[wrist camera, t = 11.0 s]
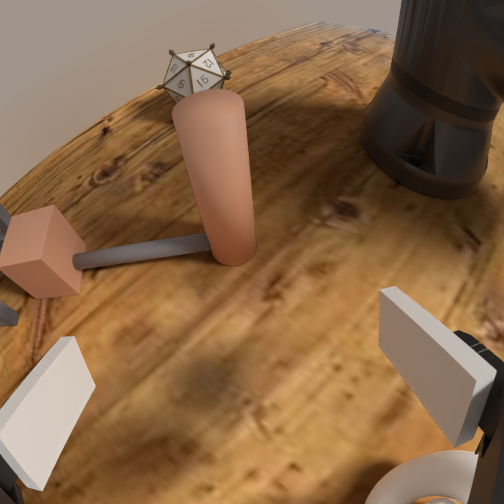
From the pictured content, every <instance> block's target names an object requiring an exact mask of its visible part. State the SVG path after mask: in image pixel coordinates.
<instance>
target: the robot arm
mask: <svg viewBox="0 0 504 504" xmlns="http://www.w3.org/2000/svg"><path fill="white" fill-rule="evenodd" d="M502 103H504V0H402V3H401V10H400V16H399V23H398V29H397V35H396V41H395V46H394V52H393V57H392V62H391V68H390V72H389V74H388V75H387V77H386V79H385V80H384V82H383V83H382V85H381V86H380V88H379V90H378V91H377V93H376V94H375V96H374V98H373V100H372V101H371V102H370V103H369V105H368V106H367V107H366V110H365V112H364V115H363V120H362V125H361V132H360V134H361V140H362V143H363V145H364V147H365V149H366V151H367V153H368V154H369V156H370V157H371V158H372V159H373V161H374V162H375V163H376V164H377V165H378V166H379V167H380V168H381V169H382V170H383V171H385V172H386V173H387V174H388V175H390V176H391V177H392V178H394V179H395V180H397V181H398V182H400V183H402V184H403V185H405V186H407V187H409V188H411V189H413V190H416V191H418V192H420V193H423V194H426V195H429V196H433V197H438V198H446V199H455V198H461V197H465V196H467V195H469V194H471V193H472V192H473V191H475V189H476V188H477V187H478V185H479V183H480V182H481V180H482V178H483V177H484V175H485V173H486V170H487V166H488V153H489V148H490V142H491V136H492V128H493V123H494V120H495V117H496V115H497V113H498V111H499V108H500V106H501V104H502ZM379 347H380V349H381V350H382V351H383V352H384V354H385V355H386V356H387V358H388V359H389V360H390V362H391V363H392V364H393V366H394V367H395V368H396V370H397V371H398V372H399V374H400V375H401V376H402V377H403V379H404V380H405V381H406V383H407V384H408V386H409V387H410V388H411V390H412V391H413V392H414V394H415V395H416V396H417V398H418V399H419V400H420V402H421V403H422V404H423V406H424V407H425V409H426V410H427V411H428V413H429V414H430V415H431V417H432V418H433V420H434V421H435V422H436V424H437V425H438V427H439V428H440V429H441V431H442V432H443V434H444V435H445V436H446V438H447V439H448V441H449V442H450V443H451V445H452V446H453V448H455V447H457V446H459V445H461V444H463V443H465V442H467V441H469V440H471V439H473V437H474V435H475V432H476V430H477V427H478V426H479V427H480V428H481V429H482V431H483V432H484V434H483V436H482V438H481V441H480V443H479V445H478V447H477V449H476V452H475V455H477V454H478V452H479V455H478V460H477V465H476V470H475V474H474V478H473V483H472V487H471V491H470V495H469V498H468V502H467V504H504V362H503V361H502V360H501V359H499V358H498V357H497V356H496V355H495V354H493V353H492V352H491V351H490V350H489V349H488V350H487V348H486V347H485V346H484V345H483V344H480V342H479V341H478V340H476V339H475V338H474V337H473V336H471V335H470V334H467V333H464V332H462V331H459V330H458V331H455V332H452V331H450V330H449V329H448V328H447V327H446V326H444V325H443V324H442V323H441V322H440V321H438V320H437V319H436V318H435V317H433V316H432V315H431V314H430V313H429V312H427V311H426V310H425V309H424V308H422V307H421V306H420V305H419V304H417V303H416V302H415V301H414V300H412V299H411V298H410V297H409V296H407V295H406V294H405V293H404V292H402V291H401V290H400V289H398V288H397V287H396V286H394V287H389V288H385V289H381V290H379ZM95 387H96V386H95V384H94V381H93V379H92V377H91V375H90V373H89V370H88V368H87V366H86V363H85V361H84V359H83V356H82V354H81V352H80V349H79V347H78V344H77V342H76V339H75V337H74V336H69V337H61V338H60V339H59V340H58V341H57V342H56V343H55V345H54V346H53V347H52V348H51V349H50V350H49V351H48V352H47V354H46V355H45V356H44V357H43V358H42V359H41V361H40V362H39V363H38V364H37V365H36V366H35V368H34V369H33V370H32V371H31V372H30V373H29V375H28V376H27V377H26V378H25V379H24V381H23V382H22V383H21V384H20V386H19V387H18V388H17V389H16V390H15V392H14V393H13V394H12V395H11V397H9V398H8V399H7V400H6V401H5V403H4V404H3V405H2V406H1V409H0V504H24V501H23V497H22V494H21V490H20V488H19V486H18V485H17V484H16V483H15V481H16V480H17V478H18V477H19V478H20V479H21V481H22V482H23V483H24V484H25V485H26V486H27V487H28V488H32V489H36V490H39V491H43V489H44V487H45V485H46V483H47V481H48V478H49V476H50V474H51V472H52V470H53V468H54V466H55V464H56V462H57V460H58V458H59V456H60V453H61V451H62V449H63V447H64V445H65V443H66V441H67V440H68V438H69V436H70V434H71V432H72V430H73V428H74V426H75V424H76V422H77V420H78V418H79V416H80V414H81V413H82V411H83V409H84V407H85V405H86V403H87V401H88V399H89V398H90V396H91V394H92V392H93V390H94V389H95Z"/></svg>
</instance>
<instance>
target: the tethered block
mask: <svg viewBox="0 0 504 504" xmlns="http://www.w3.org/2000/svg"><path fill="white" fill-rule="evenodd" d="M172 118H173V122H174V126H175V129H176V133H177V136H178V140H179V143H180V147H181V151H182V154H183V158H184V161H185V165H186V168H187V171H188V175H189V178H190V182H191V185H192V189H193V192H194V195H195V199H196V202H197V205H198V209H199V212H200V215H201V218H202V222H203V225H204V228H205V231H206V233H199V234H192V235H186V236H179V237H173V238H166V239H160V240H154V241H148V242H141V243H135V244H129V245H123V246H117V247H111V248H105V249H100V250H94V251H88V252H85V250H86V244H85V242H84V241H83V240H82V239H81V237H80V236H79V235H78V234H77V233H76V231H75V230H74V229H73V227H72V226H71V225H70V224H69V222H68V221H67V220H66V219H65V217H64V216H63V215H62V213H61V212H60V211H59V209H58V208H57V207H56V205H55V204H54V205H50V206H46V207H43V208H39V209H35V210H32V211H28V212H25V213H21V214H18V215H15V216H12V217H11V220H10V223H9V226H8V229H7V233H6V236H5V239H4V243H3V246H2V250H1V253H0V271H1V272H3V273H4V274H5V275H6V276H8V277H9V278H10V279H11V280H12V281H14V282H15V283H16V284H17V285H19V286H20V287H21V288H23V289H24V290H25V291H26V292H28V293H29V294H30V295H32V296H33V297H34V298H36V299H45V298H54V297H63V296H71V295H80V287H81V279H82V271H83V269H88V268H94V267H101V266H108V265H114V264H121V263H128V262H134V261H141V260H148V259H154V258H161V257H168V256H175V255H182V254H188V253H195V252H202V251H209V250H211V251H212V254H213V256H214V258H215V259H216V260H217V261H218V262H220V263H221V264H224V265H227V266H238V265H242V264H244V263H246V262H248V261H249V260H250V259H251V258H252V257H253V255H254V254H255V251H256V247H257V245H256V233H255V222H254V210H253V199H252V188H251V176H250V165H249V154H248V143H247V132H246V121H245V110H244V101H243V99H242V97H241V96H240V95H238V94H237V93H235V92H233V91H230V90H225V89H208V90H203V91H199V92H196V93H193V94H190V95H188V96H186V97H185V98H183V99H182V100H180V101H179V102H178V103H177V104H176V105H175V106H174V108H173V110H172Z"/></svg>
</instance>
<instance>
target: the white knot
mask: <svg viewBox="0 0 504 504" xmlns="http://www.w3.org/2000/svg"><path fill="white" fill-rule="evenodd" d="M478 455H479V453H478V454H477V455H475V452H469V451H463V450H452V451H440V452H434V453H429V454H426V455H423V456H420V457H417V458H413V459H410V460H408V461H406V462H404V463H402V464H400V465H398V466H397V467H395V468H394V469H392V470H391V471H390V472H388V473H387V474H386V475H385V476H384V477H383V478H382V479H381V480H379V481H378V483H377V484H376V485H375V486H374V488H373V489H372V490H371V492H370V494H369V496H368V497H367V499H366V502H365V504H412V503H413V502H414V501H415V500H417V499H420V498H423V497H427V496H444V497H445V498H437V499H433V500H431V501H429V502H427V503H426V504H456V502H455V501H453V500H450V499H448V498H446V497H449V498H453V499H456V500H458V501H460V502H462V503H463V504H467V502H468V498H469V495H470V491H471V487H472V483H473V478H474V474H475V470H476V465H477V460H478Z"/></svg>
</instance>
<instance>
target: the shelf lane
mask: <svg viewBox="0 0 504 504" xmlns="http://www.w3.org/2000/svg"><path fill="white" fill-rule="evenodd" d="M10 220H11V216H10V214H9V213H8V212H7V211H6V210H5V209H4V208H3V206H2V205H1V204H0V229H1V230H2V231H1V232H0V253H1V250H2V246H3V243H4V239H5V236H6V233H7V229H8V226H9V223H10ZM17 321H18V313H17V312H16V311H14V310H13V309H11V308H10V307H8V306H7V305H5V304H4V303H2V302H1V301H0V326H15V325H17Z"/></svg>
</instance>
